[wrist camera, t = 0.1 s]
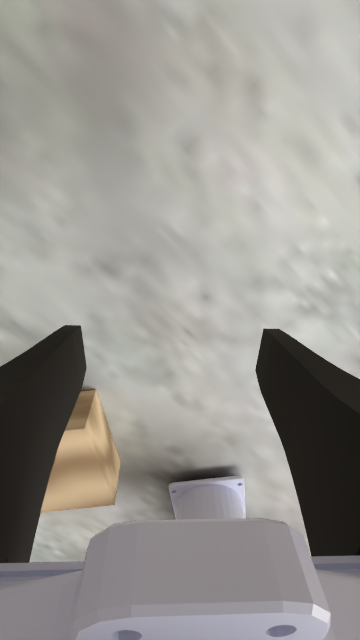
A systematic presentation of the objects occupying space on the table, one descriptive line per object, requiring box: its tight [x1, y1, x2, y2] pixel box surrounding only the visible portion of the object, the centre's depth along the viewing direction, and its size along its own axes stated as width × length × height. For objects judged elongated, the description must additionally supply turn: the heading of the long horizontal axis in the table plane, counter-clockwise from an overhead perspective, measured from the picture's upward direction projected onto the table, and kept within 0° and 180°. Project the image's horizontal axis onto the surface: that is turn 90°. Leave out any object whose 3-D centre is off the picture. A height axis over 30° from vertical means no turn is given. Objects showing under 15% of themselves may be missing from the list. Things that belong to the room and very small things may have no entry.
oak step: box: [40, 390, 121, 513], centre depth 27 cm, size 10×13×4 cm
